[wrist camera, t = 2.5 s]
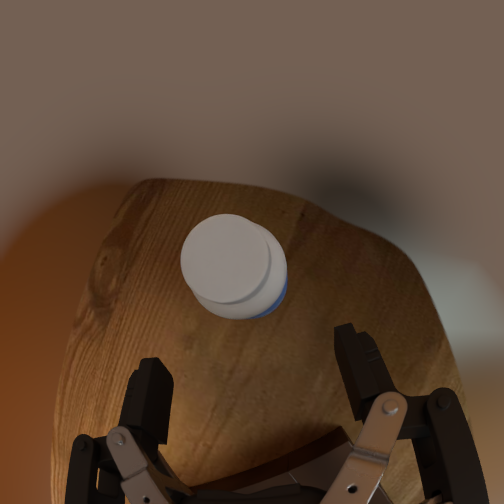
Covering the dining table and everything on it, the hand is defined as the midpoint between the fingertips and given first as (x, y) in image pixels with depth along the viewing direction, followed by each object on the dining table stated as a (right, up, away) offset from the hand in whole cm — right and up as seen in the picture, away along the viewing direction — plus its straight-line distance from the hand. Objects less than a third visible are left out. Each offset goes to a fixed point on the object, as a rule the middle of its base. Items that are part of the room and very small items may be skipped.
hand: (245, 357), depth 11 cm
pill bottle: (0, +2, +10) cm, 10 cm away
